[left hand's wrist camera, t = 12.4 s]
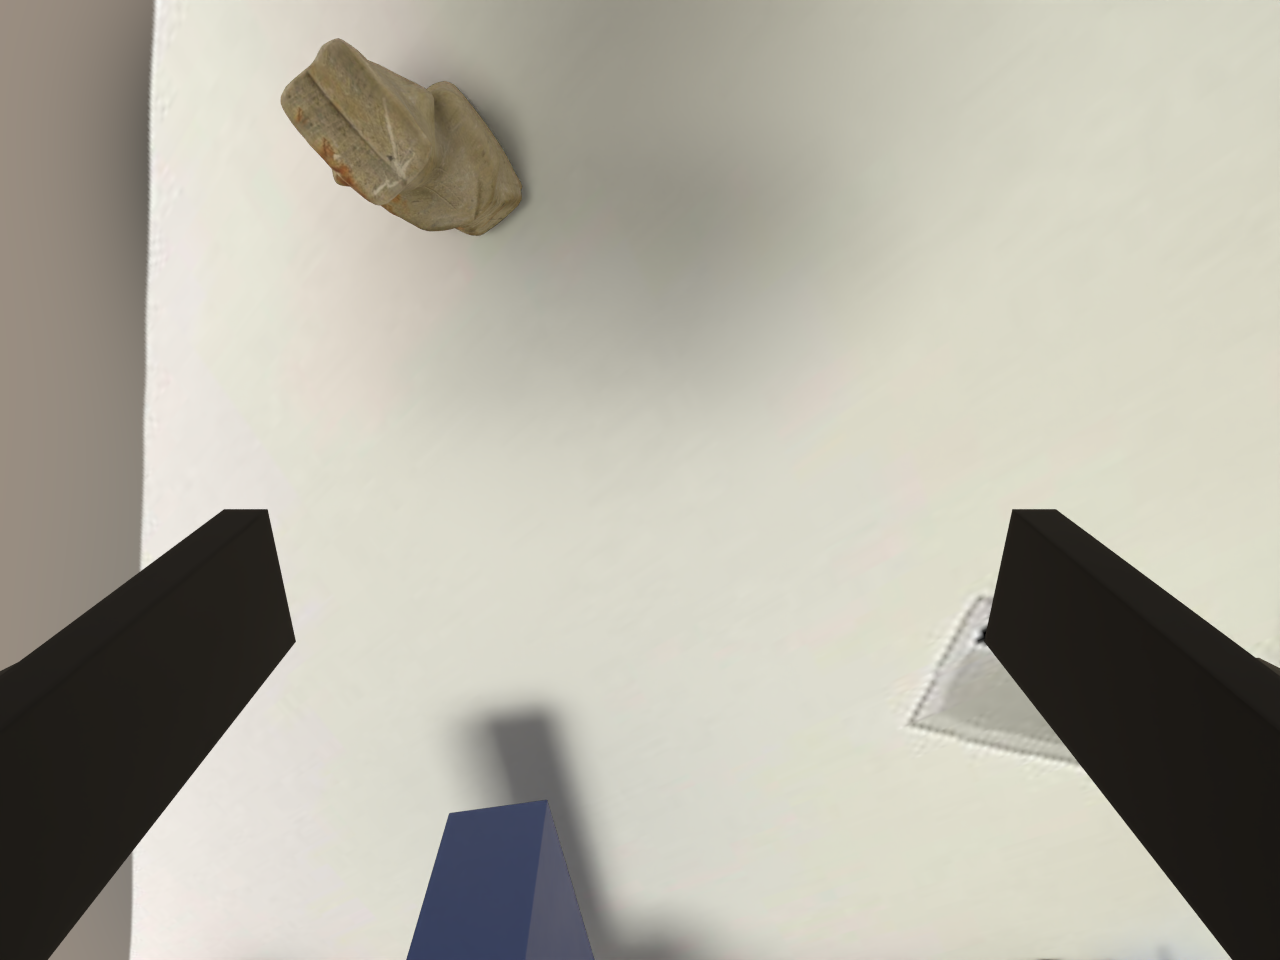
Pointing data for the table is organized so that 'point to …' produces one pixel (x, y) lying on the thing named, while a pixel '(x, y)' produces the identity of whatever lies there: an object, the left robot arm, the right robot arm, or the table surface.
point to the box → (500, 891)
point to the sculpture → (402, 142)
